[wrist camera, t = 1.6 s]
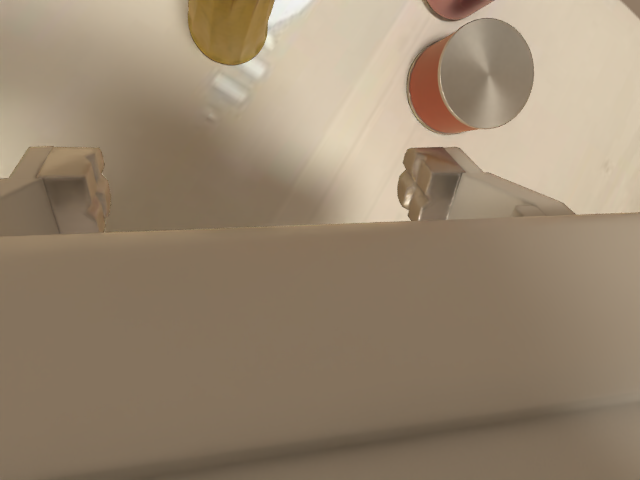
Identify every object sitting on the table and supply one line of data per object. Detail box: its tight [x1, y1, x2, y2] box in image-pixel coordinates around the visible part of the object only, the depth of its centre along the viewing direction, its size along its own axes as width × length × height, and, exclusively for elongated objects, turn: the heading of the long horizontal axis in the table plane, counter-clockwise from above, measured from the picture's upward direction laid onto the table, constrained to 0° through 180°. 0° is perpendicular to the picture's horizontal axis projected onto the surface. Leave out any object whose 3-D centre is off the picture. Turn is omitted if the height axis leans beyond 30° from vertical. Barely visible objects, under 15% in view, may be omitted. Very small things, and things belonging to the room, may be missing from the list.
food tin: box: [407, 18, 534, 135], centre depth 37 cm, size 8×8×6 cm
